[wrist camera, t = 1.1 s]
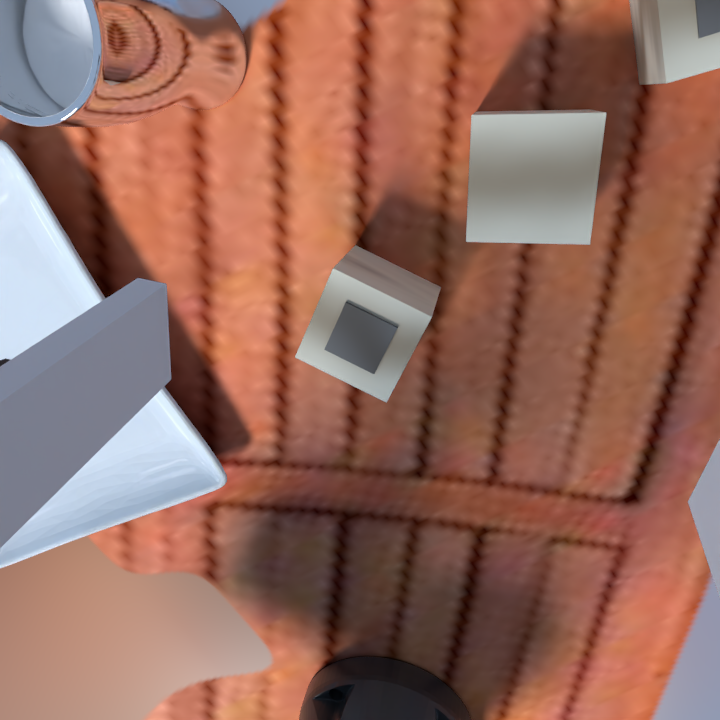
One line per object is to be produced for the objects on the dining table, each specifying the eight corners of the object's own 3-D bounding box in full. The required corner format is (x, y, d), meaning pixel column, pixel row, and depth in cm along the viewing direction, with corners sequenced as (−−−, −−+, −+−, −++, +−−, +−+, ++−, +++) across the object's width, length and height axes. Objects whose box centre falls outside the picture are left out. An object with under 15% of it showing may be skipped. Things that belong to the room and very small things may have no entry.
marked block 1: (400, 363, 41) (385, 404, 36) (320, 324, 41) (294, 358, 36) (441, 286, 39) (431, 318, 33) (355, 244, 39) (332, 269, 33)
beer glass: (278, 46, 35) (139, 16, 21) (212, 142, 38) (54, 170, 24) (183, -45, 34) (-24, -135, 21) (123, 61, 37) (-92, 44, 24)
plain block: (576, 221, 35) (589, 244, 30) (470, 220, 37) (465, 241, 31) (589, 109, 33) (606, 112, 28) (475, 111, 34) (471, 115, 29)
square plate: (-190, 294, 50) (-242, 309, 46) (39, 128, 40) (-5, 132, 37) (13, 549, 57) (-18, 579, 54) (249, 460, 47) (229, 489, 44)
